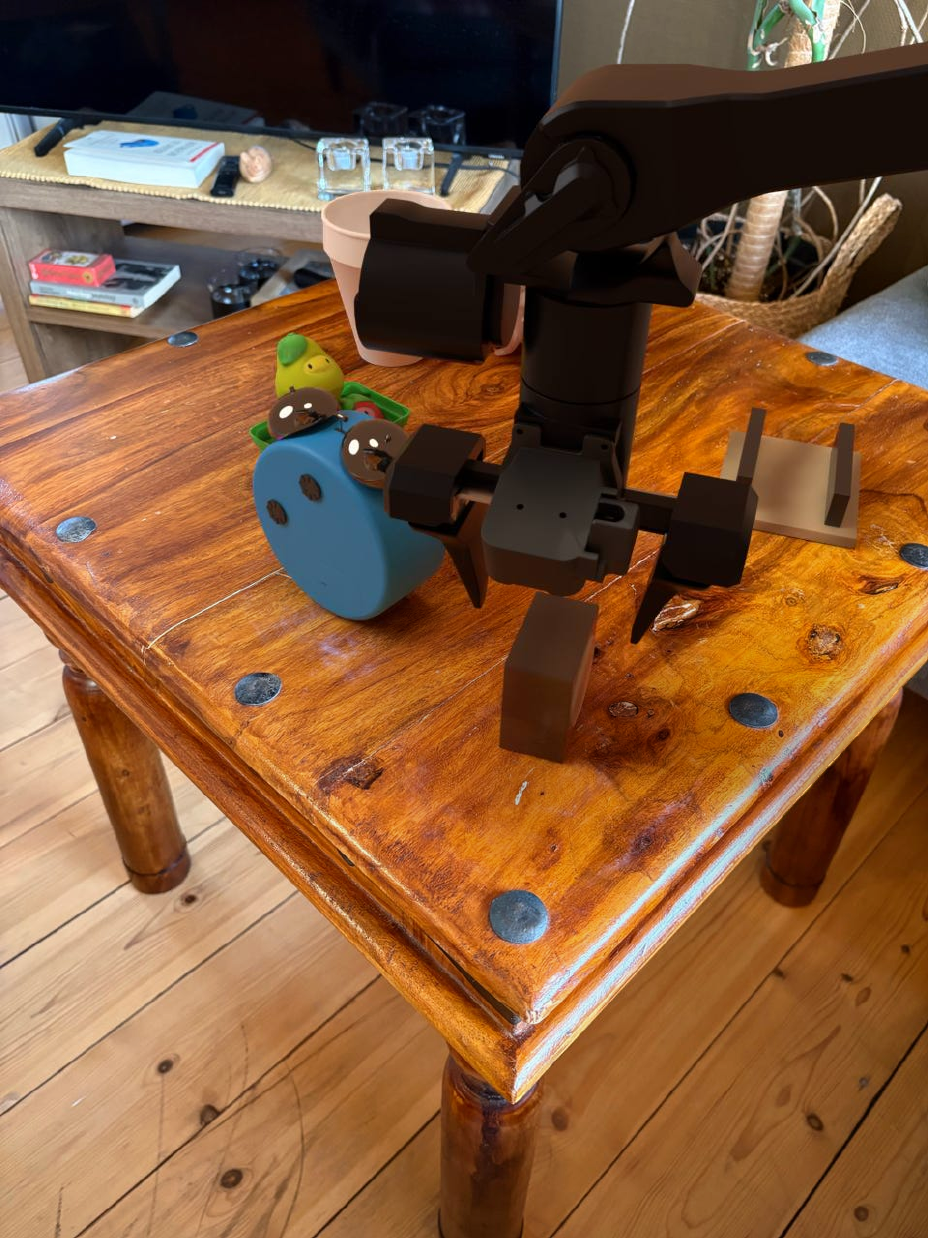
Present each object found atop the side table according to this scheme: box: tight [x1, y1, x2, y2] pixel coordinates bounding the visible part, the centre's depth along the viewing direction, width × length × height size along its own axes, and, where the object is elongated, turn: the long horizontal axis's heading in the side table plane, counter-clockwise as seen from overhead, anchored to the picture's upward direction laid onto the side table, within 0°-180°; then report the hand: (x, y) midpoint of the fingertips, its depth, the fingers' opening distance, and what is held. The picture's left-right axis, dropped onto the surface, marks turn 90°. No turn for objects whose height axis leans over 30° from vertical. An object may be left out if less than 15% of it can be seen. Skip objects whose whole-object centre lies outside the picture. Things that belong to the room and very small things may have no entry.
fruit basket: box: [248, 331, 411, 454], centre depth 79 cm, size 11×9×11 cm
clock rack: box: [719, 406, 862, 550], centre depth 80 cm, size 11×13×4 cm
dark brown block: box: [498, 590, 600, 764], centre depth 60 cm, size 4×7×7 cm, turn 162°
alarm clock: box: [252, 386, 447, 621], centre depth 66 cm, size 13×6×15 cm, turn 49°
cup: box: [320, 188, 454, 368], centre depth 95 cm, size 12×12×14 cm
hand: (556, 621), depth 57 cm, fingers open, 9 cm apart
